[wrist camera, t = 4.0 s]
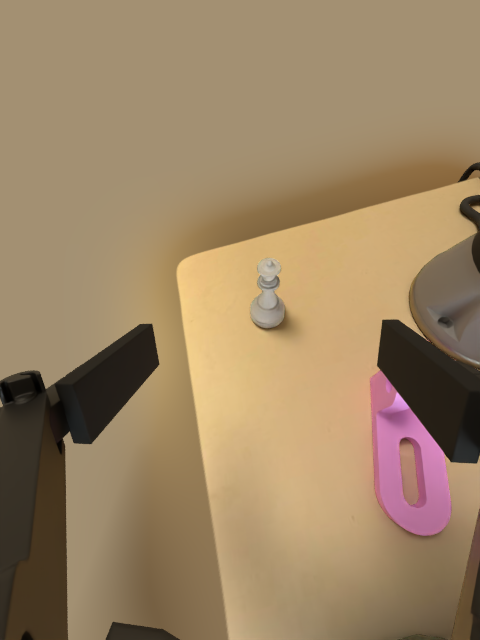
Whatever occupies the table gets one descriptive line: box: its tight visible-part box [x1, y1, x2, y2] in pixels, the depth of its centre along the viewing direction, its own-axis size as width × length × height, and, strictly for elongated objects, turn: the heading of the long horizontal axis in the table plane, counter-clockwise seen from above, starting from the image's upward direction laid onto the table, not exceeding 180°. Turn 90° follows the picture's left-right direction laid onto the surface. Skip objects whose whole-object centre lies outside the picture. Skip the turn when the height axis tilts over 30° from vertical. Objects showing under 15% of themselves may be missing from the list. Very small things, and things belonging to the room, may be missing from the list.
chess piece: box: [250, 258, 285, 328], centre depth 29 cm, size 4×4×10 cm
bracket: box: [370, 370, 451, 536], centre depth 22 cm, size 13×6×7 cm, turn 170°
